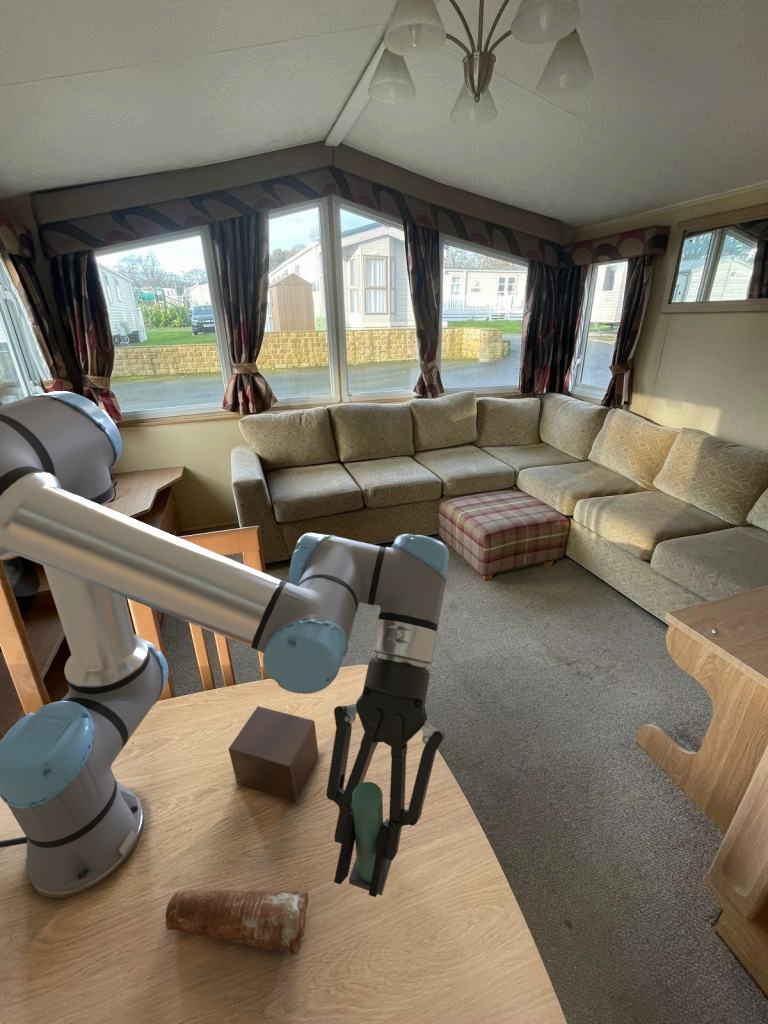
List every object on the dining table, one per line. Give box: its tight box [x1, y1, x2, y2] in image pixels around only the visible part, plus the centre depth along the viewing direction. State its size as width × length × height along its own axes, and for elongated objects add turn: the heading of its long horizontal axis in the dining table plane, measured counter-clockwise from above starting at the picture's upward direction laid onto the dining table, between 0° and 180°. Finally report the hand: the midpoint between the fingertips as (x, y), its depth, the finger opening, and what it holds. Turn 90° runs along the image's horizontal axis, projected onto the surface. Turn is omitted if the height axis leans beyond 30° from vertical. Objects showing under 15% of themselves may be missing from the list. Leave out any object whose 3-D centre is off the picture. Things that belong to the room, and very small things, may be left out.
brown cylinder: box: [165, 889, 309, 955], centre depth 63 cm, size 6×19×6 cm, turn 81°
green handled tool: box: [348, 781, 393, 896], centre depth 54 cm, size 4×4×14 cm
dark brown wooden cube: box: [228, 705, 320, 804], centre depth 82 cm, size 11×9×9 cm
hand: (358, 884), depth 52 cm, fingers closed on green handled tool, 3 cm apart
